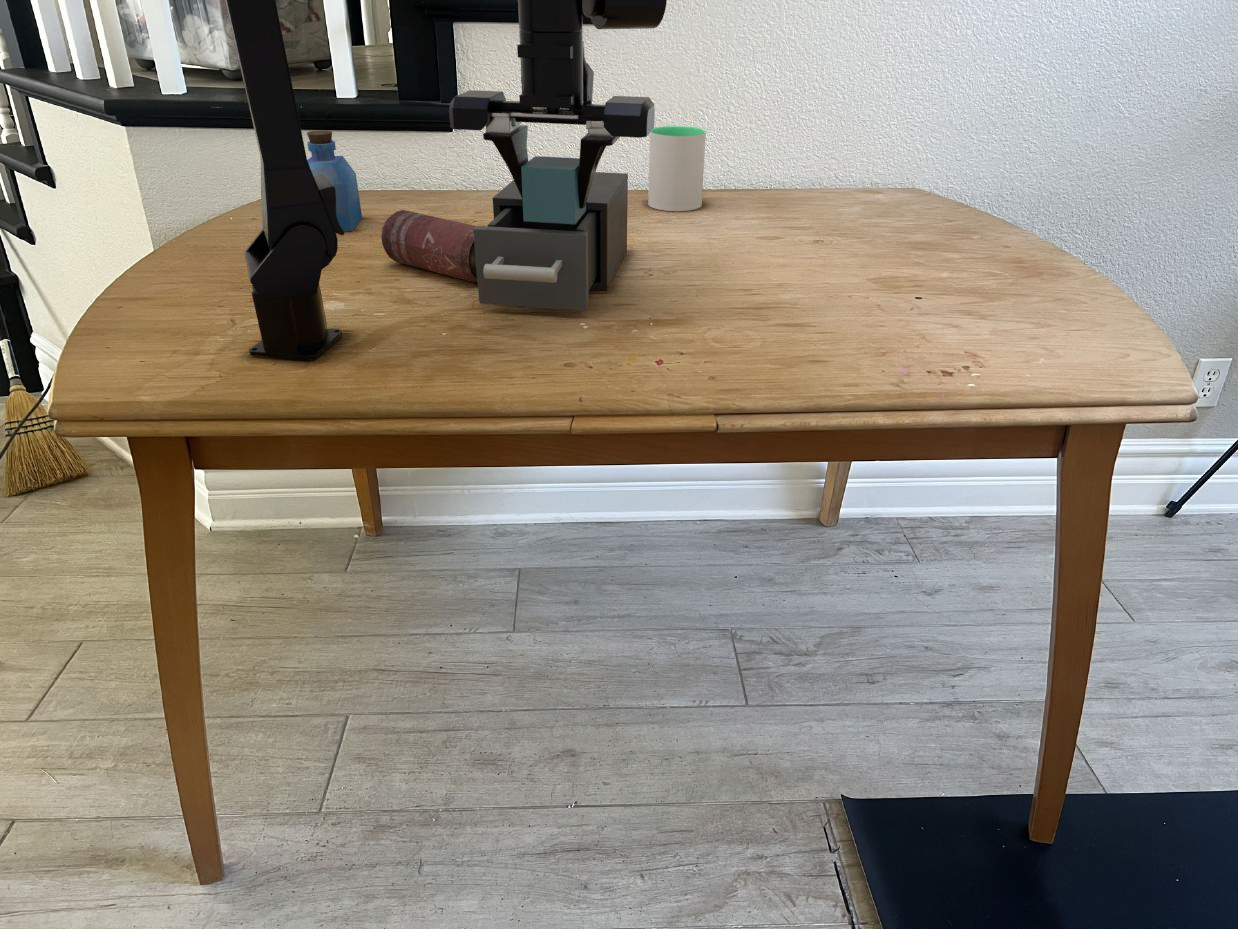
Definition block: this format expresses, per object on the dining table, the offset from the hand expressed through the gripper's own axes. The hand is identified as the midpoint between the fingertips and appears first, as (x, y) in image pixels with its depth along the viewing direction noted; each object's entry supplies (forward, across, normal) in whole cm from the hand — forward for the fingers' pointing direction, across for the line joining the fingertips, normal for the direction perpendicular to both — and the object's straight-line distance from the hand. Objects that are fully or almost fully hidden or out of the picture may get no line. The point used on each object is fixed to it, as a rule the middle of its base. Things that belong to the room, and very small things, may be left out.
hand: (555, 206), depth 85 cm
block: (+1, 0, 0) cm, 1 cm away
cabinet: (+11, +2, -14) cm, 17 cm away
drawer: (+10, +2, -2) cm, 10 cm away
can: (+8, +22, -12) cm, 27 cm away
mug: (+11, -6, -48) cm, 49 cm away
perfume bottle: (+11, +37, -25) cm, 46 cm away
